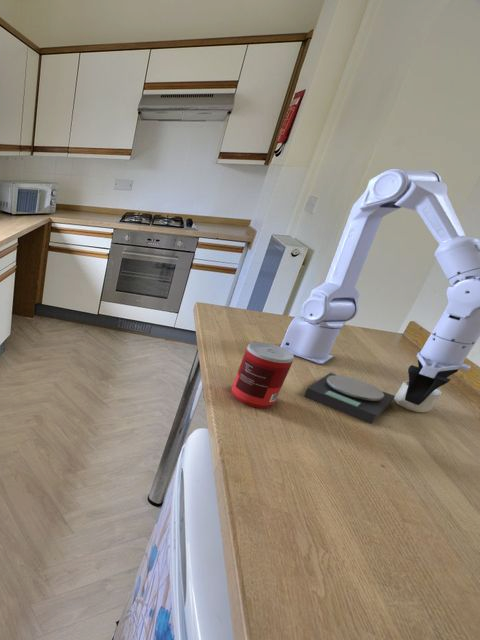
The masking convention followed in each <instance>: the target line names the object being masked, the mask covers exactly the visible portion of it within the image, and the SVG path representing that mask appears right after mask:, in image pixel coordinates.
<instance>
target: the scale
mask: <svg viewBox="0 0 480 640" xmlns="http://www.w3.org/2000/svg"><path fill="white" fill-rule="evenodd" d="M333 375H336V373H333V372H329V373H328V374H326V375H325V376H323V377H322V378H319V379H318V380H317V381H315V382H314V383H313V384H311V385H310V386H309V387H307V389H306V390H305V392H304V395H303V397H305V398H308V399H309V400H312V401H314V402H317V403H320V404H322V405H324V406H327V407H328V408H332V409H334V410H337V411H339V412H341V413H344V414H347V415H349V416H351V417H354V418H356V419H359V420H360V421H364V422H366V423H368V424H372V423H374V422H375V420H377V419H378V417H380V416H381V415H382V414H383V412H384V411H386V410H387V409H388V407H390V406H391V405H392V403H393V401H394V400H395V399H394V398H395V396H396V395H394V394H391V393H388V392H385V391H382V390H381V391H382V392H383V393H384V397H383V399H382V400H379V401H369V400H363V399H359V398H355V397H352V396H349V395H346V394H343V393H341V392H339V391H337V390H335V389H334V388H332V387H331V386H329V385H328V384H327V382H326V380H327V378H328V377H329V376H333Z"/></svg>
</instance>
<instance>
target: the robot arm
mask: <svg viewBox="0 0 480 640" xmlns="http://www.w3.org/2000/svg"><path fill="white" fill-rule="evenodd" d="M401 208H404V209H408V210H411V211H413V212H416V213H418V215H419V216H420V218H421V220H422V221H423V222H424V224H425V226H426V227H427V229H428V230H429V232H430V234H431V235H432V236H433V238H434V239H435V241H436V242H437V243H438V247H437V248H436V250H435V251H434V252H433V253H434V255H433V256H434V257H435V259H436V261H437V262H438V264H439V266H440V268H441V271H442V272H443V274H444V275H445V277H446V279H447V281H448V283H449V284H450V286H448V287H447V289H446V298H447V301H448V302H447V305H446V307H445V308H444V311H443V313H442V315H441V316H440V318H439V319H438V321H437V323H436V324H435V326H434V328H433V330H432V332H431V333H430V335H429V336H428V337H427V340H426V342H424V345H423V347H422V348H421V350H420V351H418V352H417V354H416V358H417V365H418V366H416V365H413V364H411V365H409V367H408V369H407V374H408V380H409V385H408V388H407V392H406V396H405V401H408V402H411V403H414V404H416V405H419V404H421V403H422V402H423V401H424V400H425V399H426V398H427V397H428V396H429V395H430V394H431V393H432V392H433V391H434V390H436V389H438V388H440V387H442V386H445V385H446V384H448V383H450V381H451V380H452V379H451V378H449V377H450V376H452V375H455V374H456V373H458V372H459V370H461V371H464V372H467V371H468V372H469V370H470V369H471V367H472V366H471V365H469V364H467V363H464V362H465V360H466V358H467V357H468V355H469V353H470V352H471V350H472V349H473V347H474V346H475V344H476V343H477V341H478V340H479V339H480V239H479V238H476V237H470V236H466V233H465V231H464V229H463V227H462V225H461V222H460V220H459V218H458V215H457V213H456V212H455V209H454V207H453V205H452V202H451V200H450V198H449V196H448V185H447V184H446V183H445V182H444V181H442V176H441V175H440V174H439V173H438V172H436V171H435V170H431V169H430V170H428V169H427V170H413V169H411V170H410V169H402V168H401V169H400V168H391V169H387V170H385V171H383V172H381V173H380V174H378V175H376V176H374V177H373V178H371V179H369V181H368V183H367V186H366V189H365V191H364V192H363V193H362V194H361V196H360V197H359V198H358V199H357V200H356V201H355V202H354V203H353V205H352V208H351V210H350V213H349V215H348V218H347V221H346V224H345V226H344V229H343V232H342V235H341V237H340V239H339V243H338V245H337V248H336V250H335V254H334V256H333V259H332V262H331V264H330V267H329V270H328V271H327V275H326V278H325V281H324V282H323V283H321V284H320V285H318V286H316V287H315V288H313V289H312V290H311V292H310V295H309V296H308V298H307V299H306V300H305V301H304V302H303V304H302V306H301V315H302V316H300V315H296V316H294V318H293V319H292V320H291V322H290V324H289V325H288V327H287V329H286V331H285V335H284V337H283V339H282V342H281V344H280V345H279V347H282V348H284V349H286V350H288V351H290V352H291V353H292V354H293V355H294V356H296V357H299V358H301V359H305V360H308V361H310V362H313V363H316V364H318V365H324V364H325V363H326V362H328V361H330V360H331V359H332V358H333V357H334V355H332V354H330V352H332V349H333V346H334V344H335V342H336V340H337V338H338V336H339V334H340V332H341V330H342V327H343V326H345V324H346V323H347V322H349V321H351V320H352V319H354V318H355V317H356V316H357V314H358V311H359V305H358V303H359V302H358V301H359V298H360V295H361V294H360V292H359V291H358V289H357V287H356V285H357V282H358V279H359V277H360V276H361V272H362V269H363V267H364V265H365V262H366V260H367V257H368V255H369V252H370V249H371V247H372V244H373V242H374V240H375V237H376V234H377V233H378V230H379V227H380V224H381V222H382V220H383V218H384V217H385V216H388V215H389V214H391V213H393V212H395V211H397V210H399V209H401Z"/></svg>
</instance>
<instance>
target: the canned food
mask: <svg viewBox="0 0 480 640" xmlns="http://www.w3.org/2000/svg"><path fill="white" fill-rule="evenodd" d="M294 358H295V355H293V354H292V353H291V352H290V351H288V350H286V349H284V348H282V347H280V345H276V344H273V343H268V342H262V341H253V342H250V343H248V345H247V346H246V350H245V352H244V354H243V357H242V360H241V362H240V365H239V368H238V370H237V373H236V376H235V378H234V381H233V383H232V386H231V395H232V396H233V397H234V399H236V400H237V401H238V402H240V403H241V404H244V405H246V406H250V407H253V408H256V409H257V408H258V409H267V408H270V407H272V406H273V405H274V404H275V403H276V401H277V398H278V396H279V394H280V392H281V390H282V388H283V385H284V382H285V381H286V378H287V376H288V374H289V371H290V369H291V367H292V365H293V362H294Z"/></svg>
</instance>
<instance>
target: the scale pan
mask: <svg viewBox="0 0 480 640" xmlns="http://www.w3.org/2000/svg"><path fill="white" fill-rule="evenodd" d="M326 382H327V384H328V385H329V386H331V387H332V388H334V389H335V390H337V391H339V392H341V393H343V394H346V395H349V396H352V397H355V398H359V399H363V400H369V401H379V400H382V399H383V397H384V393H383V392H384V391H383V392H382V390H381V389H380V388H378V387H377V386H375V385H373V384H371V383H369V382H367V381H364V380H361V379H358V378H354V377H350V376H345V375H340V374H339V375H337V374H335V375H333V376H329V377H328V378H327V380H326Z"/></svg>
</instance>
